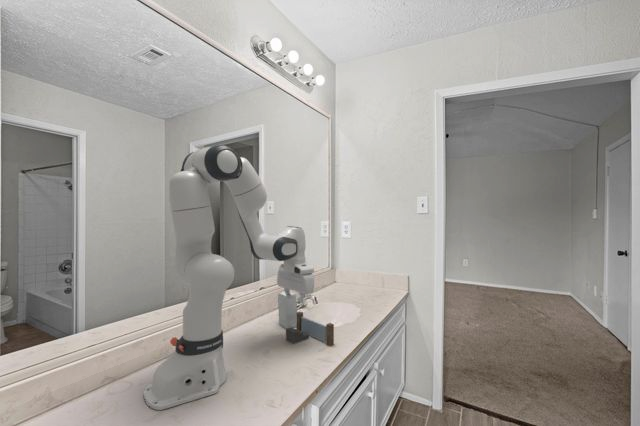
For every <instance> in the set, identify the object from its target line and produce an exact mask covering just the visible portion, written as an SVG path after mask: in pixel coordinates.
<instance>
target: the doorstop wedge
mask: <svg viewBox="0 0 640 426" xmlns="http://www.w3.org/2000/svg"><path fill="white" fill-rule="evenodd" d="M308 339H310V335H309V334H307V333H305V332H302V331H299V330H297V328H294V327H293V328H291V327H290V328H287V329H286V328H285V341H286V342H289V343H290V344H292V345H295V344H297V343H300V342H303V341H305V340H308Z"/></svg>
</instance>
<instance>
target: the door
mask: <svg viewBox="0 0 640 426" xmlns="http://www.w3.org/2000/svg"><path fill="white" fill-rule="evenodd" d="M301 331H302V332H305V333H307V334H309V336H311V337H313V338H315V339H318V340H320V341H322V342H325V343H326V325H324V324H322V323H321V322H317V321H315V320H312V319H309V318H308V317H304V316H303V317H301Z"/></svg>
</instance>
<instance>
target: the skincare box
mask: <svg viewBox="0 0 640 426" xmlns="http://www.w3.org/2000/svg"><path fill="white" fill-rule="evenodd" d="M290 294H291V299H286V294H285V291H281V292H278V293H277V298H278V299H277V303H278V304H277V305H278V307H277V309H278V324H279V325H280V326H282V327H283V328H285V330H286V329H287V328H290V327H291V328H293V329H294V328H297V312H298V306H297V305H298V304H297V303H298V300H297V293H295V292H292V291H290Z"/></svg>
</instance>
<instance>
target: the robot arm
mask: <svg viewBox="0 0 640 426" xmlns="http://www.w3.org/2000/svg"><path fill="white" fill-rule="evenodd" d="M220 182H223V183H224V184H225V185H226V186H227V188H228V190H229V191H230V194H231V195H232V198H233V200H234V202H235V203H236V206H237V213H238V216H239V219H240V221H241V223H242V225H243V228H244V231H245V233H246V235H247V237H248V241H249V245H250V251H251V254H252V255H253V257H254V258H255V259H257V260H267V261H277V262H283V263H281V264H280V266H278V267H279V268H278V272H277V277H276V282H277V283H276V284H277V286H279V287H281V288H283V292H285V294H286V299H291V294H290V292H291V291H295V292H298V295H299V298H297V303H298V304H303V303H304V299H305V297H306V295H310V294H313V293H314V291H315V276H314V272H315V268H314V267H313V266H312V265H311V264H309V263H308V262H307V261H306V256H305V253H306V252H305V251H306V234H305V230H304V229H303V228H302V227H299V226H290V225H288V226H286V227H284V230H283V231H281V232H280V233H277V234H276V235H273V234H267V233H266V232H265V231H264V229H263V227H262V226H261V225H262V224H261V223H260V220H259V218H258V212H259V211H260V210H261V209H262V208H263V207H264V206H265V204H266V202H267V198H268V195H267V190H266V187H265V186H264V184H263V182H262V180H261V177H260V176H259V174H258V172H257V171H256V169H255V168H254V166H253V165H252V163H250V161H249V160H248V159H247V158H246V157H243V156H239V155H238V154H237V152H236V151H235V150H234V149H233V148H231V147H230V146H227V145H223V144H221V145H220V144H218V145H212V146H209V147H202V148H199V149H197V150H195V151H192V152H190V153H189V154H187V155H186V156H185V158H184V159H183V161H182V164H181V169H180V171H178V172H176V173H175V174H173V175H172V176H171V177H170V179H169V185H168V187H169V188H168V191H169V193H168V194H169V196H168V198H169V205H170V206H169V207H170V211H171V217H172V223H173V227H174V228H173V229H174V235H175V261H174V262H173V272H174V275H175V276H176V278H177V280H179V281H180V283H182V284H184V285H186V286H188V287H189V295H188V299H187V302H186V305H185V307H184V308H183V310H182V336H181V337H180V338H179V339H178V338H177V337H172V338H171V339H170V344H171V345H172V346H173V347H175V350H174V352H173V353H172V354H171V355H169V356H168V357H167V358H166V359H165V360H164V361H163V362H162V363H161V364H160V365H158V367H156V369H155V371H154V375H153V380H152V382H151V383H148V384H147V385H146V386H145V388H144V391H143V399H145V400H144V401H146V402H145V404H147V406H148V407H149V406H150V408H151V409H153V410H156V411H162V410H163V411H164V410H166V409H169V408H172V407H175V406H176V407H177V406H179V405H182V404H186V403H189V402H192V401H196V400H200V399H202V398H205V397H209V396H212V395H215V394H217V393H219V391H220V387H221V386H222V385H223V384H224V383H225V382H226V380H227V378H228V374H227V369H226V366H225V361H224V355H223V348H224V332H223V330H222V321H223V320H222V316H223V315H222V312H223V311H222V310H223V302H224V298H225V295H226V292H227V290H228V288H229V287H231V284H233V282H234V279H235V267H234V266H233V264H232V263H231V262H230V261H229V260H228V259H226V258H225V257H224V256H222V255H220V254H216V253H215V254H214V253H213V252H212V240H213V239H212V238H213V235H215V231H216V228H215V222H214V221H215V220H214V215H213V211H212V204H211V200H210V195H209V193H210V187H211V184H216V183H220Z"/></svg>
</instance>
